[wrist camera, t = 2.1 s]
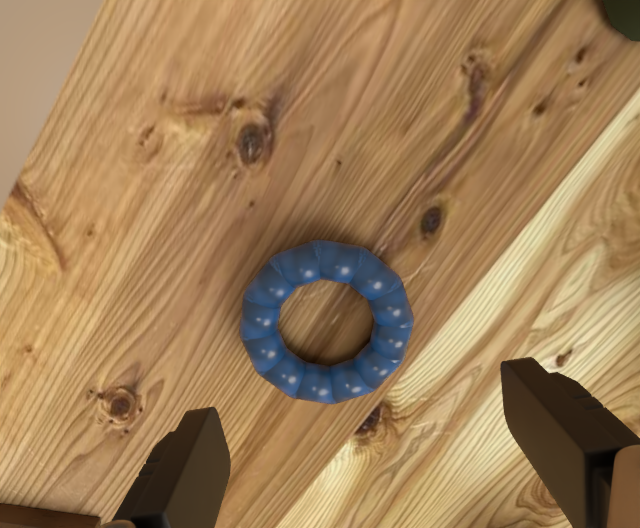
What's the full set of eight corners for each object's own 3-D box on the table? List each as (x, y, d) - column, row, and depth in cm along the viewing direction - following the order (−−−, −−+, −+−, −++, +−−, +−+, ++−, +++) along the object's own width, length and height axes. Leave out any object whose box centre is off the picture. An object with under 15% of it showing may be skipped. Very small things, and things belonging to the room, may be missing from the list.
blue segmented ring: (236, 376, 29) (228, 396, 26) (255, 224, 26) (248, 232, 23) (388, 399, 29) (394, 421, 27) (424, 252, 26) (433, 262, 24)
